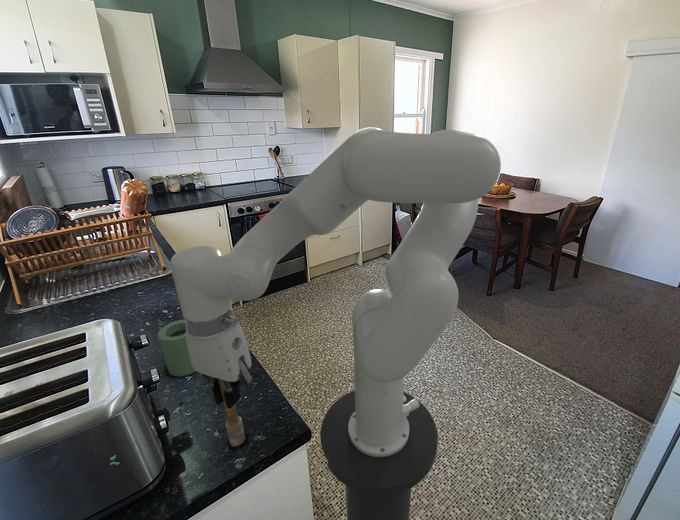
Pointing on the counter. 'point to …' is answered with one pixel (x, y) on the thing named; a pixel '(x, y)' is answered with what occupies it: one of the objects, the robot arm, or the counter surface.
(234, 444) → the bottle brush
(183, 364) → the jar
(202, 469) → the counter surface
